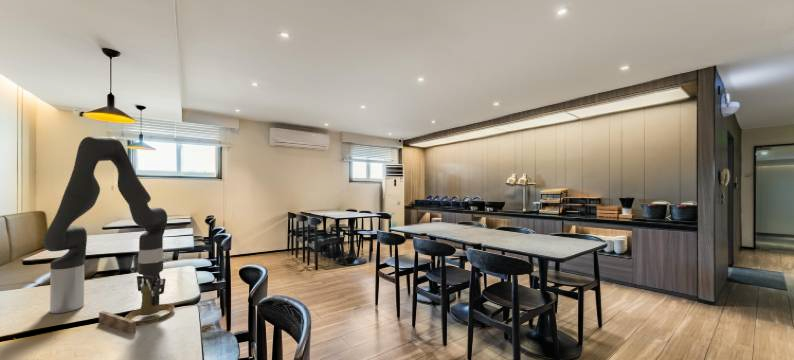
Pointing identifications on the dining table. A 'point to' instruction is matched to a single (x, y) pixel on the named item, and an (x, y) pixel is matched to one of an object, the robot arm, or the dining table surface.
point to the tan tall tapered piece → (148, 302)
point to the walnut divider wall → (117, 322)
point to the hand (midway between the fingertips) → (150, 303)
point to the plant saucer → (162, 307)
